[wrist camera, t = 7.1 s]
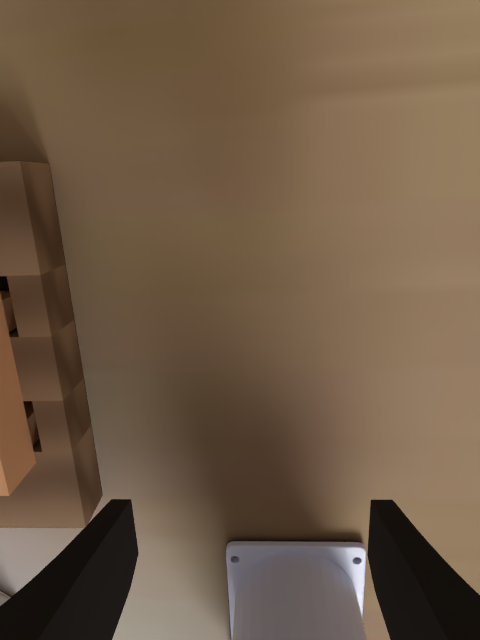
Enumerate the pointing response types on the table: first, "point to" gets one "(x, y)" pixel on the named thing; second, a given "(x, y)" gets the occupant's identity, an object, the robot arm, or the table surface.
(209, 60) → the table surface
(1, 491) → the tan wooden block
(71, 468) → the rail
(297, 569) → the robot arm
